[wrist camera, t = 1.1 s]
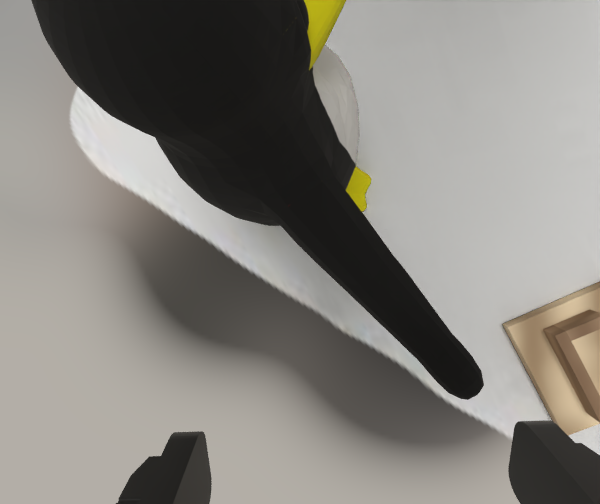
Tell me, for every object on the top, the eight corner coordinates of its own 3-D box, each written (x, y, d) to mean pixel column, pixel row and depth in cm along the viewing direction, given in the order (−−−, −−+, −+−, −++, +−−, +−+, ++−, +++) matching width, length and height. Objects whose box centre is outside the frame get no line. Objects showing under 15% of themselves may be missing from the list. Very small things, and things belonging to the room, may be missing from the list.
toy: (466, 259, 34) (1192, 456, 5) (371, 334, 36) (468, 804, 7) (235, -4, 36) (-298, -1094, 6) (155, 82, 38) (-544, -445, 8)
